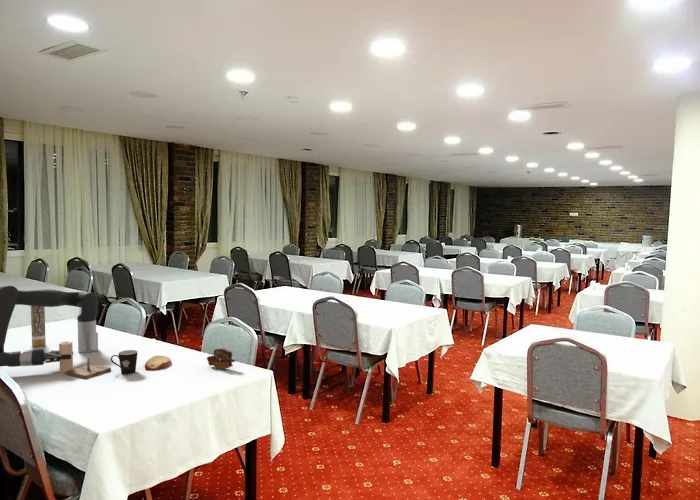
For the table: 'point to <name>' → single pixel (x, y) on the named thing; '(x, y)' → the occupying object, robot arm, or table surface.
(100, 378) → the table surface
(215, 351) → the wooden carving
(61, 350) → the cylinder
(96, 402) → the table surface
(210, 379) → the table surface
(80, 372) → the stand
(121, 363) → the coffee mug
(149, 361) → the pita bread
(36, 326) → the paper tube
